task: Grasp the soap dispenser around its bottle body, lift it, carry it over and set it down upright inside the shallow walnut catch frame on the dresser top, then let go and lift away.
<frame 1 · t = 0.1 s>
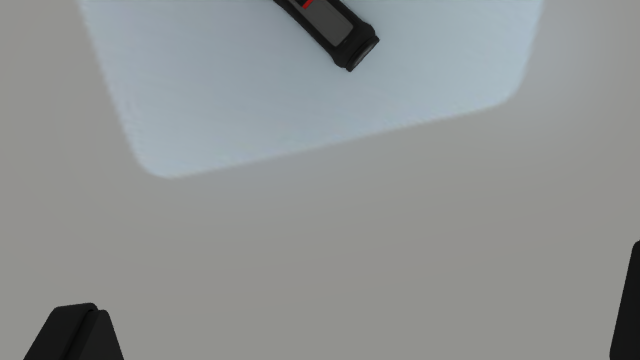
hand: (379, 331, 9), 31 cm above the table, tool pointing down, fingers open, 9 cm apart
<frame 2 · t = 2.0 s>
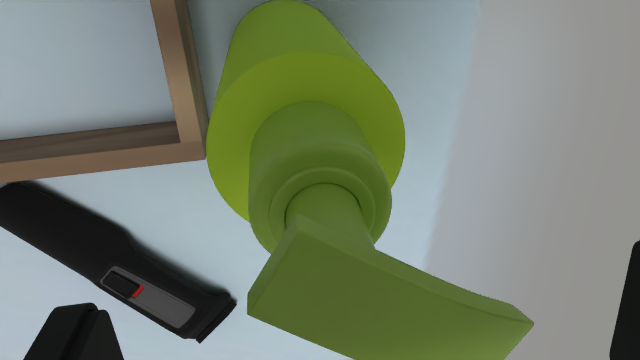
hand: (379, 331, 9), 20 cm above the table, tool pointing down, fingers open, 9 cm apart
electric trimmer: (126, 256, 31), on the table
soap dispenser: (294, 61, 27), on the table
catch frame: (2, 30, 24), on the table
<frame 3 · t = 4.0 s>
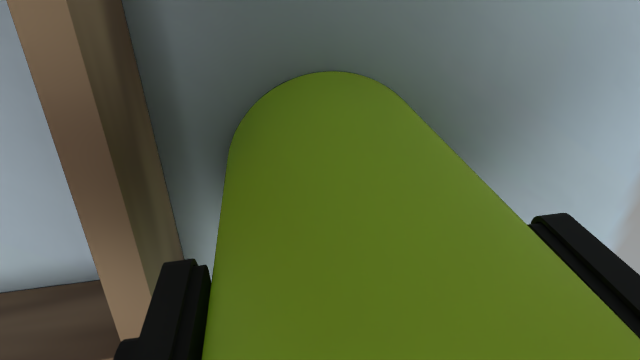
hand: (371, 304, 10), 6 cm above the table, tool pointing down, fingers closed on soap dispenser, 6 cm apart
soap dispenser: (342, 175, 15), on the table, touching gripper
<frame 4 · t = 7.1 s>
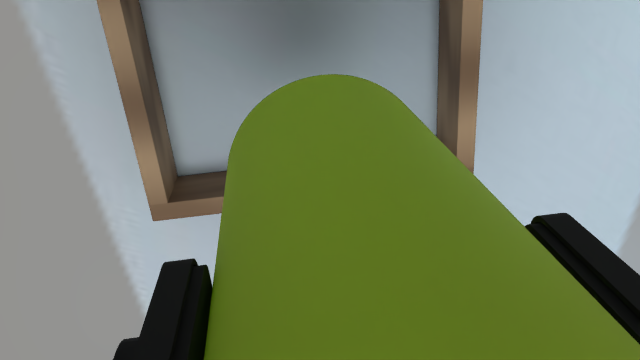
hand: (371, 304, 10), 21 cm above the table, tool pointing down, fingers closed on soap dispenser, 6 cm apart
soap dispenser: (343, 177, 15), point 15 cm above the table, touching gripper
catch frame: (300, 72, 28), on the table
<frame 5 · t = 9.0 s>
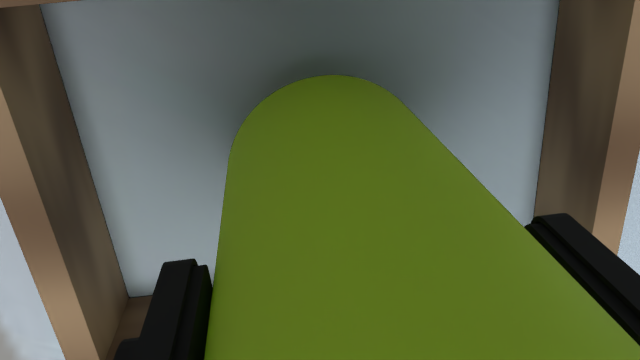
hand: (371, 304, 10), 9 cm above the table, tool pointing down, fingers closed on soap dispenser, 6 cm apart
soap dispenser: (343, 178, 15), point 3 cm above the table, touching gripper
catch frame: (323, 142, 17), on the table
when the fingers open (7 cm above the table, at t = 10.3 s): soap dispenser drops 1 cm, resting in catch frame.
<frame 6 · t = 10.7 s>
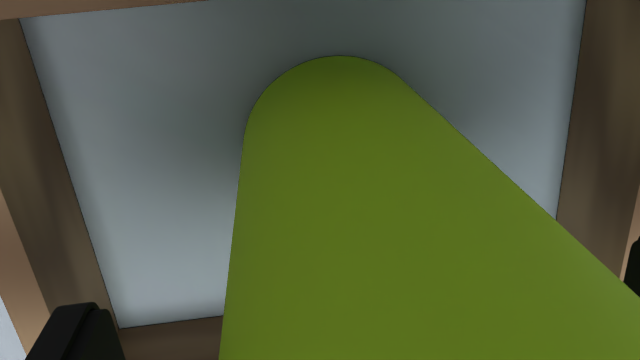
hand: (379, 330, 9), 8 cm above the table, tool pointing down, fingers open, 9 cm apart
soap dispenser: (349, 153, 16), resting in catch frame
catch frame: (328, 163, 16), on the table
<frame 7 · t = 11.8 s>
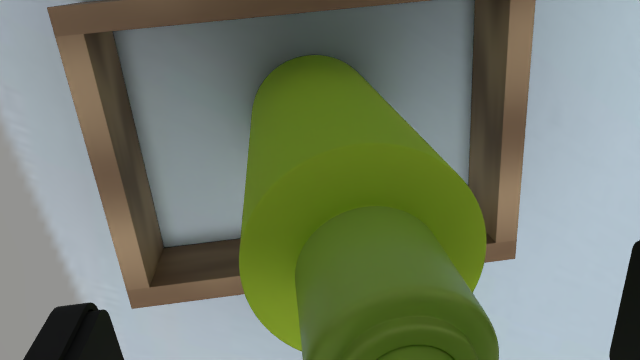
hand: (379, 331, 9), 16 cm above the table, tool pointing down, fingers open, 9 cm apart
soap dispenser: (323, 121, 24), resting in catch frame
catch frame: (308, 127, 24), on the table
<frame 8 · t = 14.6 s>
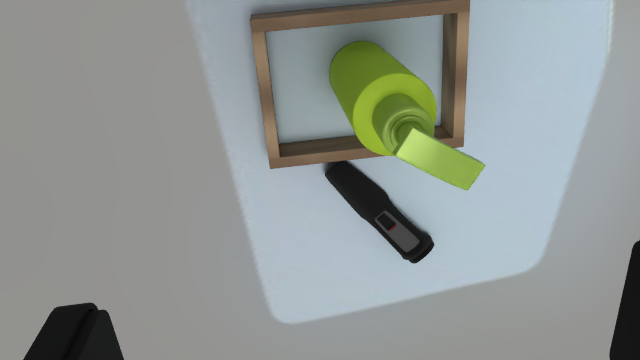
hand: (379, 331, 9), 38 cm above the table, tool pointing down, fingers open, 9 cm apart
electric trimmer: (377, 208, 53), on the table
soap dispenser: (365, 75, 46), resting in catch frame
catch frame: (357, 78, 46), on the table
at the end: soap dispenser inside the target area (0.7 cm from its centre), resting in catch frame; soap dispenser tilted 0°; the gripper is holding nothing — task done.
